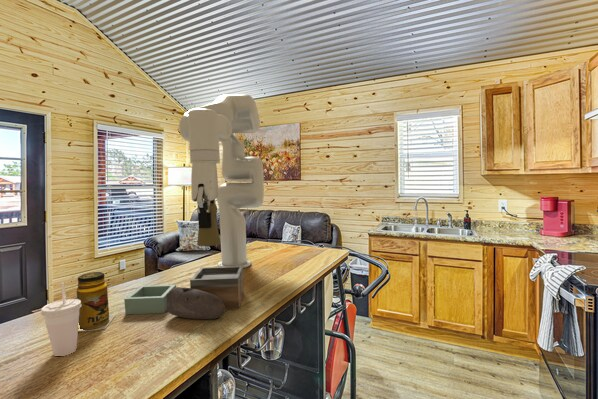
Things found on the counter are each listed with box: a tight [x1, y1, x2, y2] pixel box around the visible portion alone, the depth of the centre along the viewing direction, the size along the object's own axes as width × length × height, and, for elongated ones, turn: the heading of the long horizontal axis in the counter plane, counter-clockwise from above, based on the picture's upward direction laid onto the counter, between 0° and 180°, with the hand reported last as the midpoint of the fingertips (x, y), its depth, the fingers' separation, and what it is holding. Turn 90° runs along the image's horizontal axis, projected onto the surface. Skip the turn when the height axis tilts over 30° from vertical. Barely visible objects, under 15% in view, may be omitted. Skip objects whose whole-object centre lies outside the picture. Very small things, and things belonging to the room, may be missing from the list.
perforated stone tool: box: [166, 286, 226, 320], centre depth 77 cm, size 15×5×7 cm, turn 73°
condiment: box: [76, 271, 116, 333], centre depth 75 cm, size 7×8×12 cm
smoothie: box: [40, 281, 81, 357], centre depth 63 cm, size 6×6×14 cm
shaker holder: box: [124, 284, 177, 315], centre depth 85 cm, size 10×10×4 cm
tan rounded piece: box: [196, 203, 221, 247], centre depth 85 cm, size 6×6×11 cm
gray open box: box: [189, 266, 245, 311], centre depth 87 cm, size 11×12×8 cm
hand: (208, 225), depth 85 cm, fingers closed on tan rounded piece, 5 cm apart
